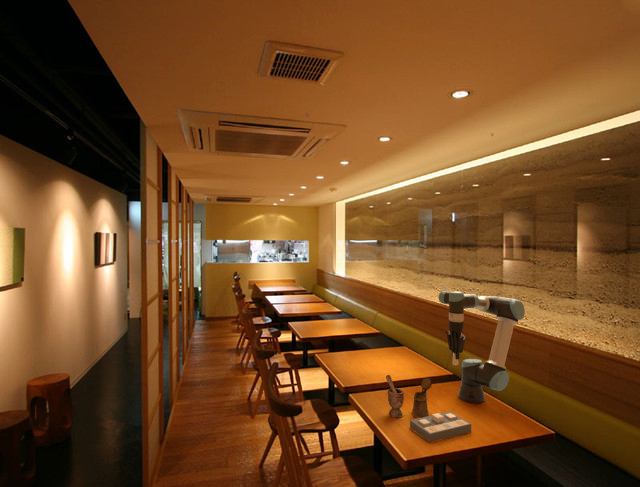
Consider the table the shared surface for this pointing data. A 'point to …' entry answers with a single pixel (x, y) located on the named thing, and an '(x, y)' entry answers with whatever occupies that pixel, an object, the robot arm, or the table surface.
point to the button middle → (437, 418)
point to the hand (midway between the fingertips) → (455, 364)
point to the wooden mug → (421, 400)
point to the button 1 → (424, 422)
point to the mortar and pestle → (395, 399)
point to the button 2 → (450, 416)
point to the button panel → (440, 428)
